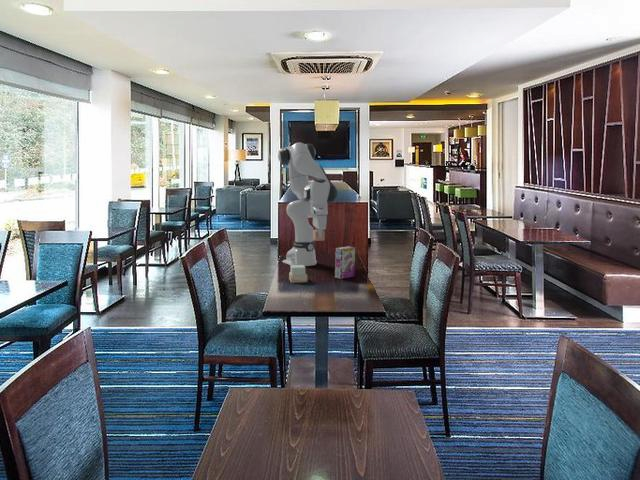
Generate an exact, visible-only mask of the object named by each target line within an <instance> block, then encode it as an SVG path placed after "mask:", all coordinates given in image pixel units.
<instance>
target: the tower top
mask: <svg viewBox="0 0 640 480" xmlns="http://www.w3.org/2000/svg"><path fill="white" fill-rule="evenodd" d="M289 267H290V272H291V274H292V275H305V273H306V266H304V265H289Z"/></svg>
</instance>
